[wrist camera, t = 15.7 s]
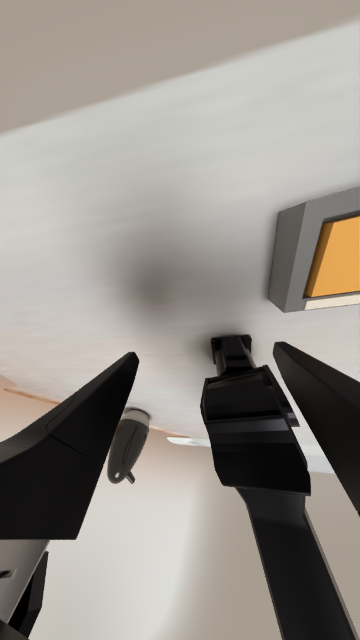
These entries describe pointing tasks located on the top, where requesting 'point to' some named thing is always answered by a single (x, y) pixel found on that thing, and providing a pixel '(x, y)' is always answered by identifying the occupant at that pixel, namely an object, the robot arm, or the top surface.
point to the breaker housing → (307, 251)
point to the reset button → (336, 258)
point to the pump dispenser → (127, 446)
